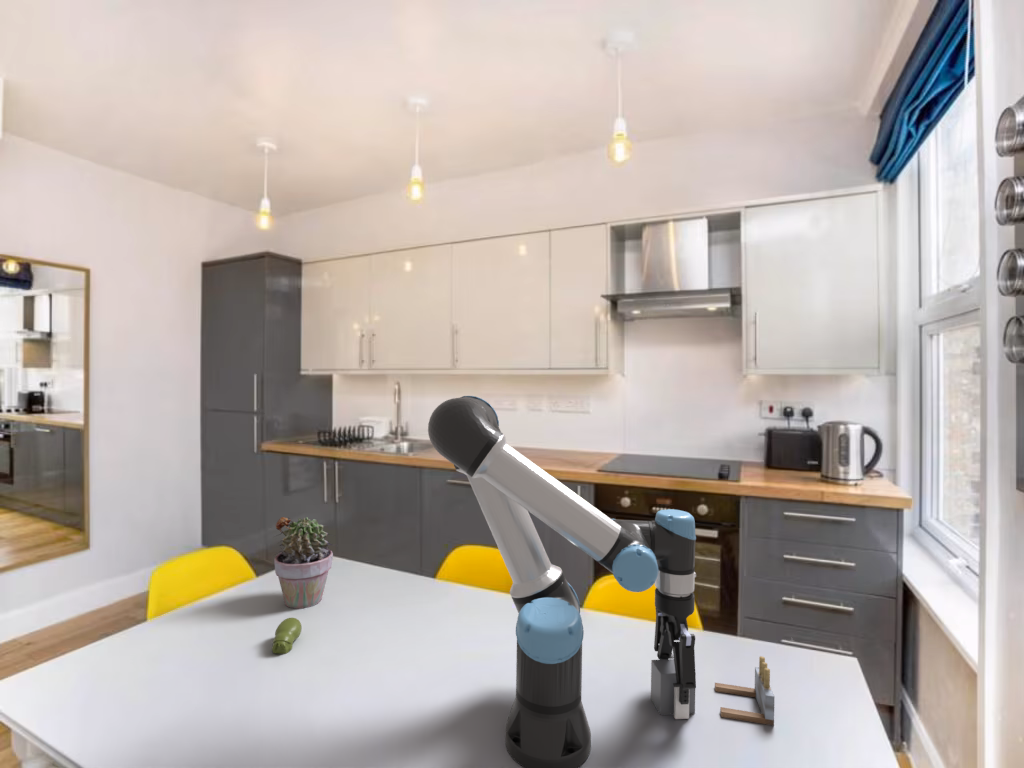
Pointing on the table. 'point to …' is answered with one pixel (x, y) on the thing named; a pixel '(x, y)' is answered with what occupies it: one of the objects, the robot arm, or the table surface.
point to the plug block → (666, 687)
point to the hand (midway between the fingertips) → (673, 704)
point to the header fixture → (760, 693)
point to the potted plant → (303, 562)
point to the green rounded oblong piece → (286, 635)
